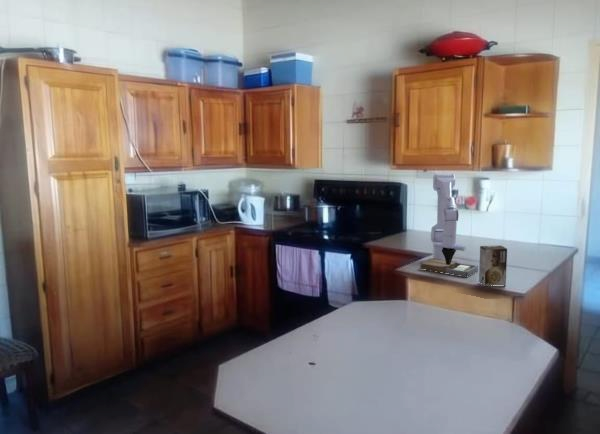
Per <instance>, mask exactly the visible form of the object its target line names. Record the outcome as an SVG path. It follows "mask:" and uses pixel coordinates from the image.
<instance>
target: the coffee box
mask: <svg viewBox="0 0 600 434" xmlns="http://www.w3.org/2000/svg"><path fill="white" fill-rule="evenodd" d="M507 264H508V248H506V247H505V246H503V245H480V246H479V266H478V283H479V282H480V283H482V284H483V285H484V286H491V285H492V286H493V285H506V286H507ZM480 283H479V284H480ZM483 285H482V286H483ZM484 286H483V287H484Z"/></svg>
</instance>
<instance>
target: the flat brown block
mask: <svg viewBox="0 0 600 434" xmlns="http://www.w3.org/2000/svg"><path fill="white" fill-rule="evenodd" d="M457 263H458V261H456V260H452V261H451V264H450V265H446V261H445V260H442V259H436V258H433V257H432V258H431V259H427V260H425V261H423V262H421V263H420V269H426V270H431V271H437V272H443V273H446V268H447V269H454V268H456V267H457Z"/></svg>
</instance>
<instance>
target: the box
mask: <svg viewBox="0 0 600 434" xmlns="http://www.w3.org/2000/svg"><path fill="white" fill-rule="evenodd" d="M459 265H465V266H470V270H468V271H460V270H453V269H447V268H446V273H449V274H454V275H461V276H466V277H467V276H469V275H471V274H472V275H474V274H475V272H476V271H477V272H479V266H478V265H475V264H467V263H461V262H457V266H459ZM456 268H457V267H456ZM454 269H455V268H454ZM477 272H476V273H477ZM473 273H474V274H473ZM454 275H453V276H454ZM472 275H471V276H472ZM466 277H465V278H466ZM469 277H470V276H469ZM467 278H468V277H467Z"/></svg>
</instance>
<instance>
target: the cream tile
mask: <svg viewBox="0 0 600 434" xmlns="http://www.w3.org/2000/svg"><path fill="white" fill-rule="evenodd" d="M457 267H459V268H465V269H467V271H468V270H470V266H465V265H459V266H457Z"/></svg>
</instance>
